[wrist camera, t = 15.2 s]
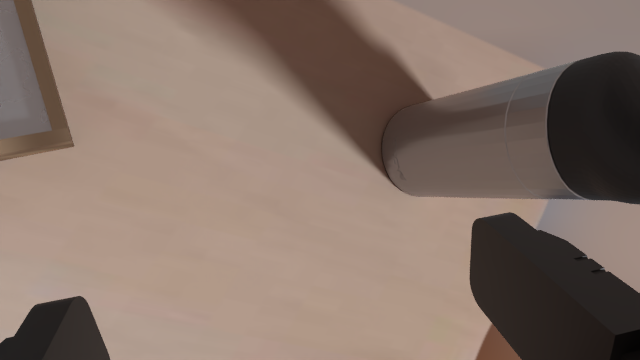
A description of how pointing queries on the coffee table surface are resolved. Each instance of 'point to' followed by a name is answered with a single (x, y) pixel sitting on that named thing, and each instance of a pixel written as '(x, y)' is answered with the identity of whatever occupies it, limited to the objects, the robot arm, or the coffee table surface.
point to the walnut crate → (48, 88)
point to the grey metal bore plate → (18, 80)
